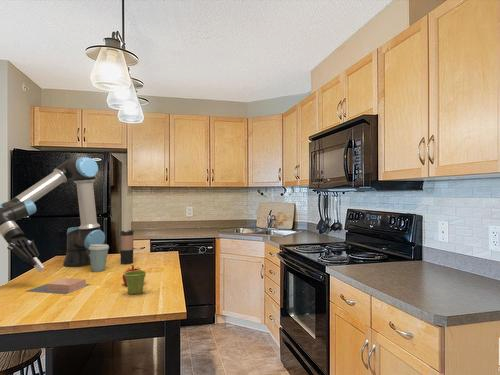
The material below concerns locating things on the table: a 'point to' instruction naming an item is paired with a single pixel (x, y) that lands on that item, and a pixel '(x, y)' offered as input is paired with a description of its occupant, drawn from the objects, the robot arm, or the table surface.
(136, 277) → the plant pot
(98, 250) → the disposable coffee cup
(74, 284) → the tile
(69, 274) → the table surface
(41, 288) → the mat
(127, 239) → the travel mug
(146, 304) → the table surface
